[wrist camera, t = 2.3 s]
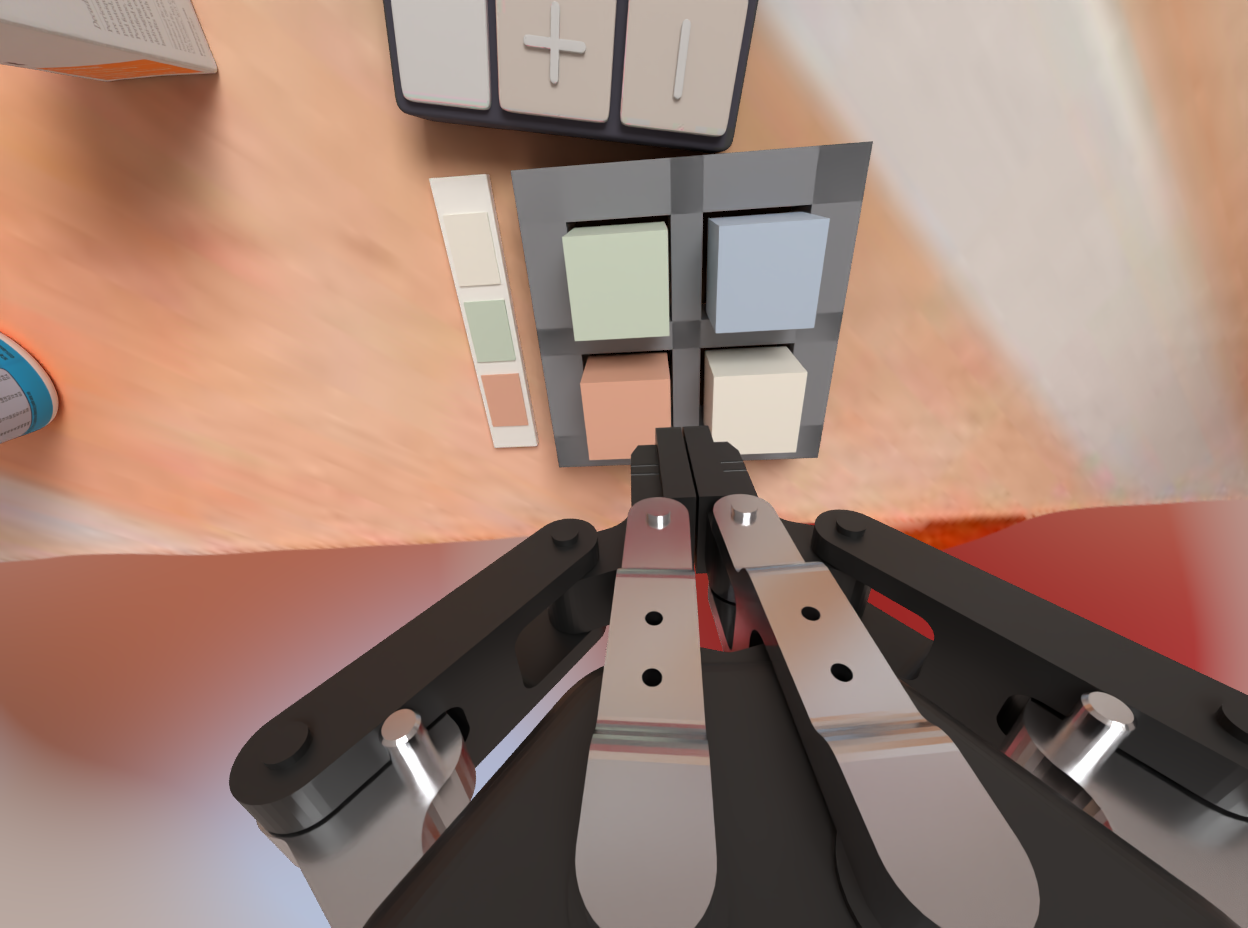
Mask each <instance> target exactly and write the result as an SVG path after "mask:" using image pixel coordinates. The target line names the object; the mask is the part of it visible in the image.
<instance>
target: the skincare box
mask: <svg viewBox="0 0 1248 928" xmlns="http://www.w3.org/2000/svg"><path fill="white" fill-rule="evenodd" d="M0 64H3V65H9V66H15V67H22V68H28V69H34V70H40V71H46V72H51V73H57V74H63V75H69V76H75V77H81V78H87V79H93V80H99V81H105V82H108V81H115V80H122V79H133V78H144V77H154V76H166V75H187V74H206V73H216V72H217V65H216V63H215V60H214V58H213V56H212V53H211V51H210V48H209V46H208V43H207V41H206V38H205V36H204V33H203V31H202V28H201V26H200V23H199V21H198V18H197V16H196V13H195V11H194V8H193V6H192V3H191V0H0Z"/></svg>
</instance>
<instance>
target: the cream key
mask: <svg viewBox="0 0 1248 928" xmlns="http://www.w3.org/2000/svg"><path fill="white" fill-rule="evenodd" d="M807 373H808V372H807V371H806V370H805V368H804V367H803V366H802V365H801V364H800V362H799V361H798V360H797V359H796V358H795V356H794V355H793V354H792V353H791V351H790V350H789V349H788V348H787V347H786V346H775V347H757V348H738V349H719V350H705V365H704V406H703V423H704V426H709V429H710V432H711V435H712V438H713V441H714V442H729V443H730V444H731V445H732V446H734V447H735V448H736V449H738V450H739V453H740V454H763V453H789V452H796V449H797V442H798V435H799V428H800V421H801V414H802V407H803V401H804V394H805V387H806V380H807Z"/></svg>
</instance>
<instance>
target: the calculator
mask: <svg viewBox="0 0 1248 928" xmlns="http://www.w3.org/2000/svg"><path fill="white" fill-rule="evenodd" d="M383 4H384V12H385V20H386V27H387V35H388V43H389V51H390V59H391V67H392V75H393V82H394V90H395V97H396V102H397V105H398V107H399V108H400V109H401V110H402V111H403V112H404V113H406V114H409V115H413V116H416V117H420V118H423V119H427V120H431V121H437V122H445V123H454V124H462V125H471V126H480V127H488V128H497V129H508V130H518V131H527V132H535V133H544V134H552V135H561V136H569V137H578V138H586V139H595V140H603V141H612V142H620V143H629V144H637V145H646V146H654V147H663V148H671V149H680V150H688V151H697V152H706V153H715V152H721V151H725V150H727V149H728V148H729V147H730V146H731V144H732V141H733V137H734V132H735V127H736V121H737V115H738V110H739V104H740V99H741V93H742V88H743V82H744V77H745V71H746V66H747V60H748V55H749V49H750V44H751V38H752V32H753V27H754V21H755V16H756V10H757V5H758V0H383Z"/></svg>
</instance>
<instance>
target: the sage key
mask: <svg viewBox="0 0 1248 928" xmlns="http://www.w3.org/2000/svg"><path fill="white" fill-rule="evenodd" d="M562 241H563V249H564V258H565V266H566V274H567V282H568V290H569V298H570V306H571V314H572V322H573V330H574V339H575V341H588V340H606V339H624V338H642V337H660V336H669V276H668V229H667V227H666V224H665V222H664V221H662V222H648V223H634V224H620V225H606V226H592V227H578V228H573V229H572V230H571V231H569V232H568V233H567V234H566V235H564V236H563V237H562Z"/></svg>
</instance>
